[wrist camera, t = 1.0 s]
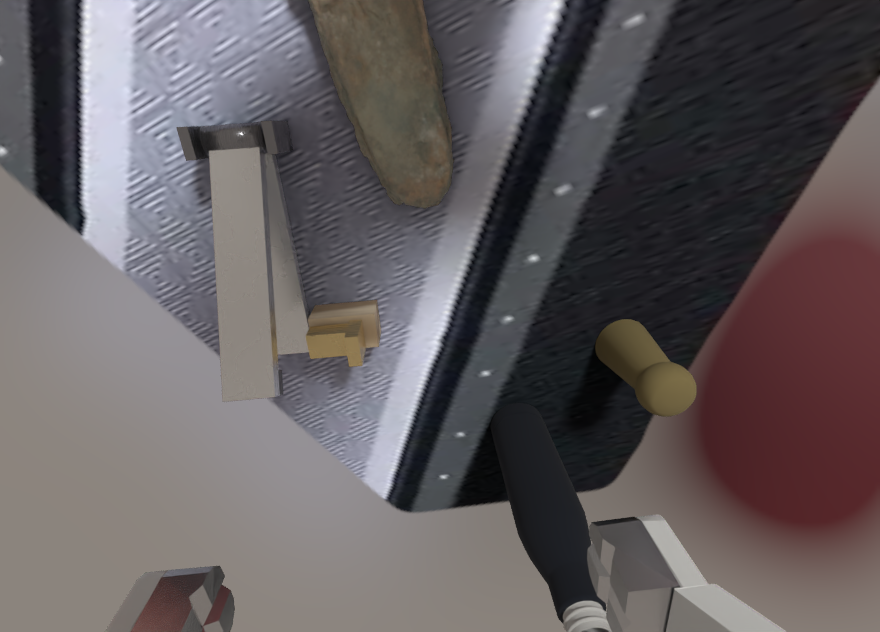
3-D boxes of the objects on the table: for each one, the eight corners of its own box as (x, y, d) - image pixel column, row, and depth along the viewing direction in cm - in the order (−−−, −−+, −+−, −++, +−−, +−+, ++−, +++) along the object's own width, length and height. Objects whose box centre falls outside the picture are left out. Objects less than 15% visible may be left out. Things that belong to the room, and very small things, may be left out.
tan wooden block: (315, 305, 45) (307, 319, 41) (376, 299, 45) (374, 313, 42) (321, 335, 46) (314, 352, 43) (381, 330, 46) (378, 346, 43)
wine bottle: (521, 392, 51) (651, 706, 24) (552, 424, 53) (702, 744, 26) (479, 423, 52) (555, 751, 25) (510, 453, 55) (612, 784, 27)
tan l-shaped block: (309, 323, 41) (300, 341, 38) (361, 319, 41) (357, 336, 38) (315, 351, 42) (307, 370, 39) (366, 346, 43) (362, 365, 39)
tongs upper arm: (214, 135, 36) (198, 120, 34) (271, 131, 37) (259, 115, 34) (228, 399, 35) (213, 403, 33) (288, 393, 35) (277, 397, 33)
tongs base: (203, 126, 37) (176, 127, 33) (287, 120, 38) (271, 120, 33) (263, 351, 46) (248, 374, 42) (330, 345, 47) (322, 368, 42)
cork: (602, 373, 50) (650, 436, 40) (588, 332, 48) (635, 387, 38) (652, 353, 50) (713, 412, 40) (641, 310, 47) (702, 361, 37)
